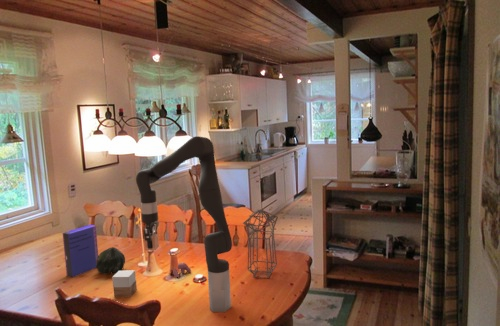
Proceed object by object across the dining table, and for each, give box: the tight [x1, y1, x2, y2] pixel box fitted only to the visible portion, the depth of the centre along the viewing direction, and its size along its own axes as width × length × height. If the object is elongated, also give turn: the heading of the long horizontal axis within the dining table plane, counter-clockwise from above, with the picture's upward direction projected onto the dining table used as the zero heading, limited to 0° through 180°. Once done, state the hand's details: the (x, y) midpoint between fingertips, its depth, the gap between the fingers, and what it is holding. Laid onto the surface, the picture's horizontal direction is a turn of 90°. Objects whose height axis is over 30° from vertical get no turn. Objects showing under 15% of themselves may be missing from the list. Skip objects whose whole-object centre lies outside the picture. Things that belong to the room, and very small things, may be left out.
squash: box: [96, 246, 126, 275], centre depth 223 cm, size 14×15×15 cm
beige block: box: [144, 233, 160, 251], centre depth 194 cm, size 5×5×6 cm
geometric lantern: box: [242, 208, 278, 279], centre depth 209 cm, size 16×16×35 cm
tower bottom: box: [112, 280, 138, 298], centre depth 196 cm, size 8×8×5 cm
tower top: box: [111, 269, 137, 287], centre depth 195 cm, size 8×8×5 cm
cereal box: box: [62, 224, 99, 278], centre depth 226 cm, size 17×5×24 cm, turn 149°
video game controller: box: [172, 262, 192, 279], centre depth 217 cm, size 10×5×7 cm, turn 142°
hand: (152, 246), depth 195 cm, fingers closed on beige block, 5 cm apart
